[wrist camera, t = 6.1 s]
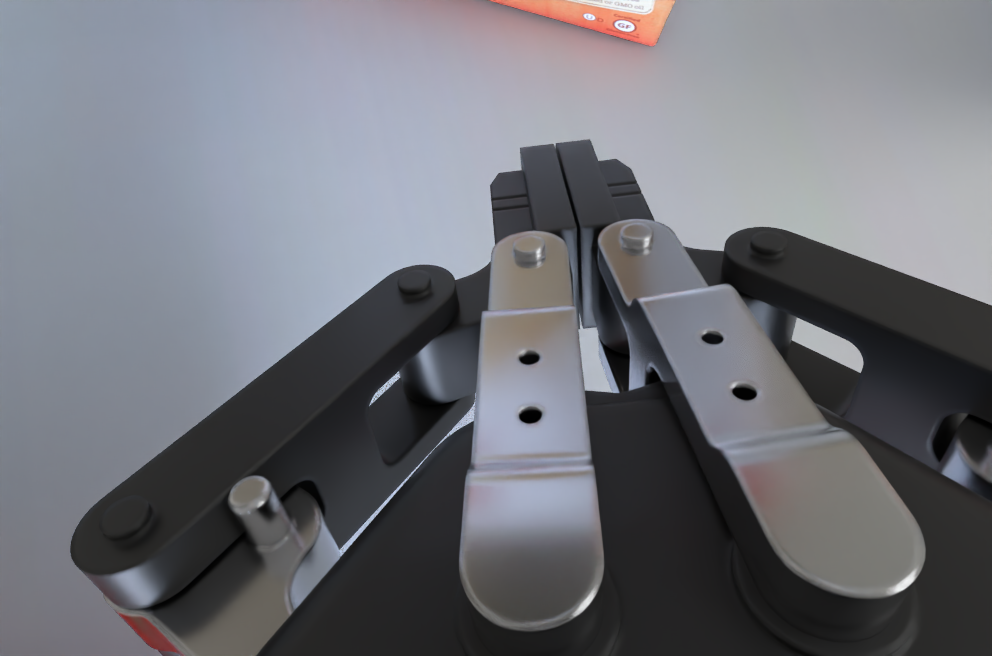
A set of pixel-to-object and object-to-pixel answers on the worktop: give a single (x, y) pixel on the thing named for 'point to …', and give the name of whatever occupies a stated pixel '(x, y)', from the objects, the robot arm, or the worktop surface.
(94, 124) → the worktop surface
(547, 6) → the cracker box
